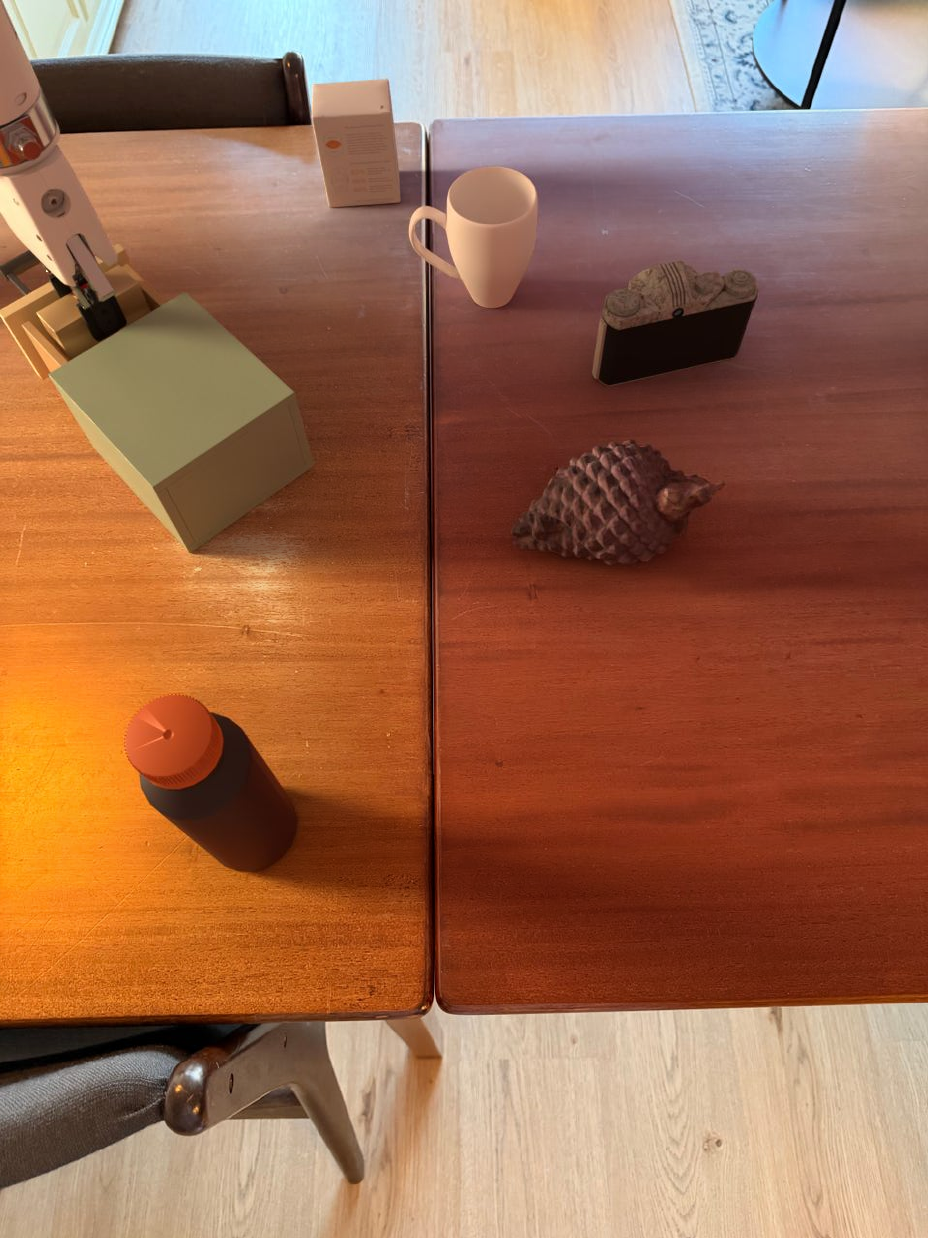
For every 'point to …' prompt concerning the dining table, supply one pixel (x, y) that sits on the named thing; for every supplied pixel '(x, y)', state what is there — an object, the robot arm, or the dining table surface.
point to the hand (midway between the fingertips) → (96, 316)
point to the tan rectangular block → (70, 325)
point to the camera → (672, 322)
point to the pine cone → (613, 506)
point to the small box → (356, 142)
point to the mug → (485, 232)
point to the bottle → (210, 782)
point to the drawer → (24, 310)
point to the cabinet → (187, 419)
